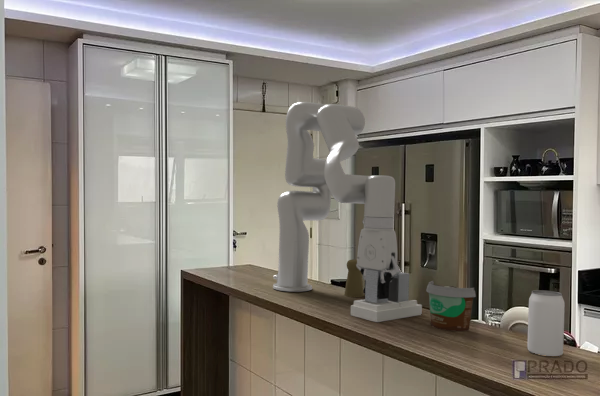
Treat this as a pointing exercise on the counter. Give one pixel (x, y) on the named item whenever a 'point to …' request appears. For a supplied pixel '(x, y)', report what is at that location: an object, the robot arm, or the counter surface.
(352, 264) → the cork
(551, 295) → the can
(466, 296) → the food container
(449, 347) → the counter surface
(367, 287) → the upright gray prism
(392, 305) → the white stepped block base
